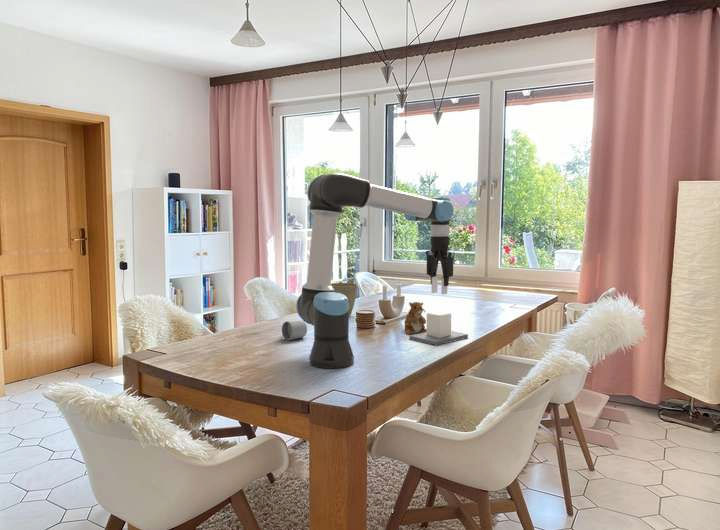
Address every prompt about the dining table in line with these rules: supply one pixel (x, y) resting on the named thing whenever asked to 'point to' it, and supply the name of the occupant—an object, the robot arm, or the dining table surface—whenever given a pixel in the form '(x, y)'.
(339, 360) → the robot arm
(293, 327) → the ceramic mug
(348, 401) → the dining table surface
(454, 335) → the post base
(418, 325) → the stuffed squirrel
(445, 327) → the white rounded cube
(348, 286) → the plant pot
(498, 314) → the dining table surface
